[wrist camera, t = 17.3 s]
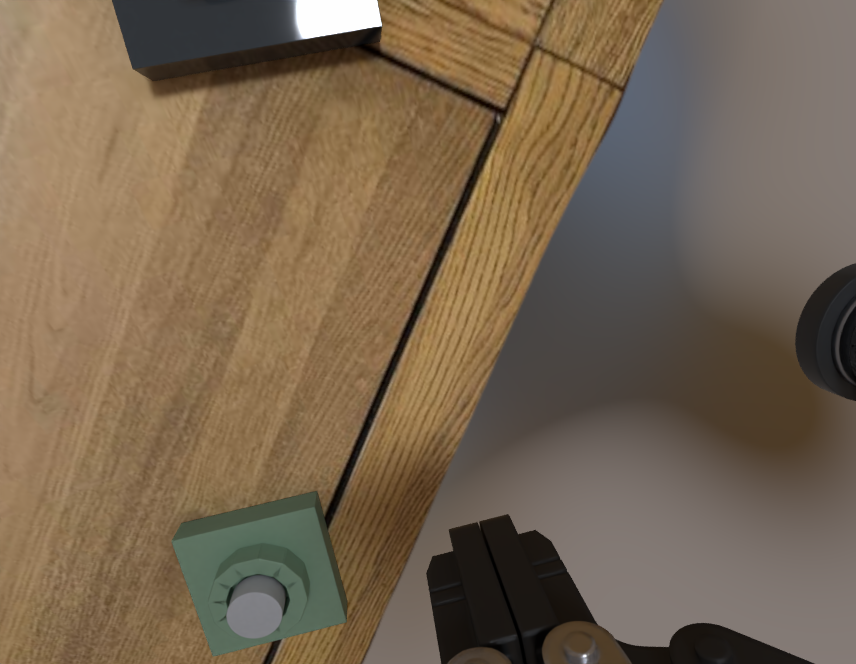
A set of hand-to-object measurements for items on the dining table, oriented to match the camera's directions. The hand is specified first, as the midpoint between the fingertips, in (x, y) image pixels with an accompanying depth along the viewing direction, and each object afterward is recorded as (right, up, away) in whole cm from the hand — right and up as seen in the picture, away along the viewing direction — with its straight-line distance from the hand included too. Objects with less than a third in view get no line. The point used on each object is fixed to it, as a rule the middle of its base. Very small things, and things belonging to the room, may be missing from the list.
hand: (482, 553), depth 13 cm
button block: (-14, -12, +28) cm, 33 cm away
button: (-13, -13, +24) cm, 30 cm away
